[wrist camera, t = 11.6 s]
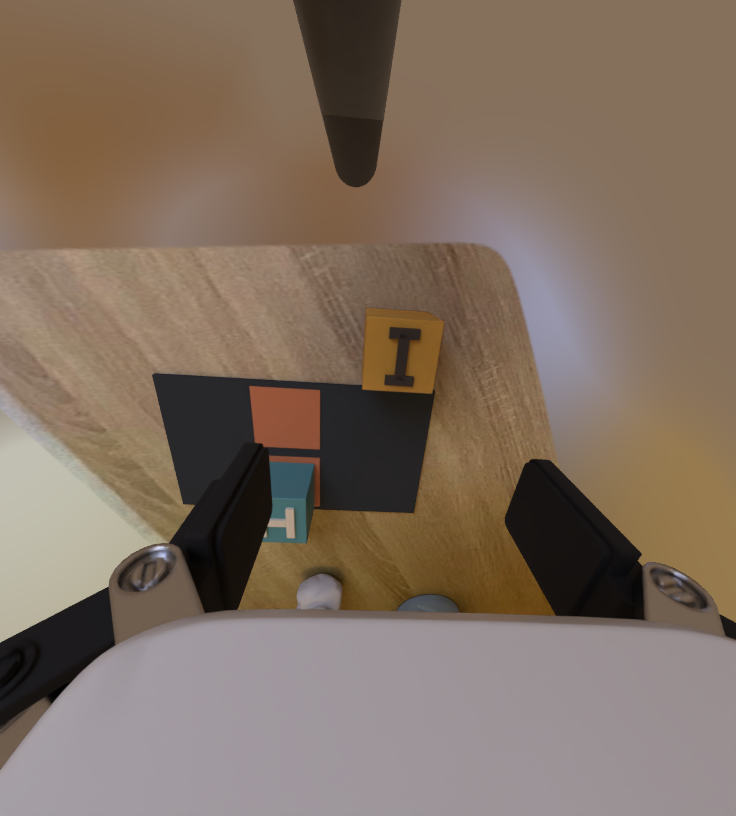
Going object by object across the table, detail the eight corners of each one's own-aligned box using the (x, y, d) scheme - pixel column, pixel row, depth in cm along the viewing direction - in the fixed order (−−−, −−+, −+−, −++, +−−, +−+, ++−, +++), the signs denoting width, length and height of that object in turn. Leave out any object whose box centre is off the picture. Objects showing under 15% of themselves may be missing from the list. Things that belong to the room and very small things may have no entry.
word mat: (154, 373, 25) (150, 375, 25) (434, 389, 26) (435, 391, 26) (185, 501, 31) (182, 505, 31) (413, 510, 32) (413, 513, 32)
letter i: (365, 307, 23) (367, 316, 19) (428, 311, 24) (446, 322, 19) (362, 368, 25) (362, 391, 21) (419, 372, 26) (433, 395, 21)
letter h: (262, 461, 29) (242, 499, 24) (314, 463, 29) (305, 501, 24) (265, 501, 31) (248, 544, 26) (314, 503, 31) (306, 546, 26)
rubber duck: (354, 581, 37) (352, 657, 30) (315, 603, 38) (305, 680, 31) (324, 557, 35) (315, 633, 28) (285, 582, 37) (266, 659, 29)
